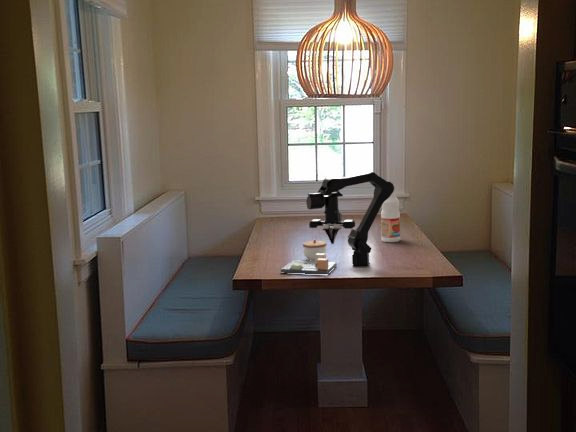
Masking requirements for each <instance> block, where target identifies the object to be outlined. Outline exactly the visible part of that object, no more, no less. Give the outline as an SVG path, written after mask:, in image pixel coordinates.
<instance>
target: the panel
mask: <svg viewBox="0 0 576 432" xmlns="http://www.w3.org/2000/svg"><path fill="white" fill-rule="evenodd" d="M292 264H302V269H301V270H298V269H291V265H292ZM336 266H338V265H337V261H328V269H327V270H322V269H317V264H315V261H309V260H298V259H297V260H291V261H290V262H288V263H287V264H285V265H284V266H283V267H282V268H280V273H281V272H284V273H305V274H328V273H329V272H330V271H331V270H332V269H333V268H335V267H336ZM336 268H337V267H336ZM336 268H335V269H336ZM330 273H331V272H330ZM330 273H329V274H330ZM329 274H328V275H329Z"/></svg>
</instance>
